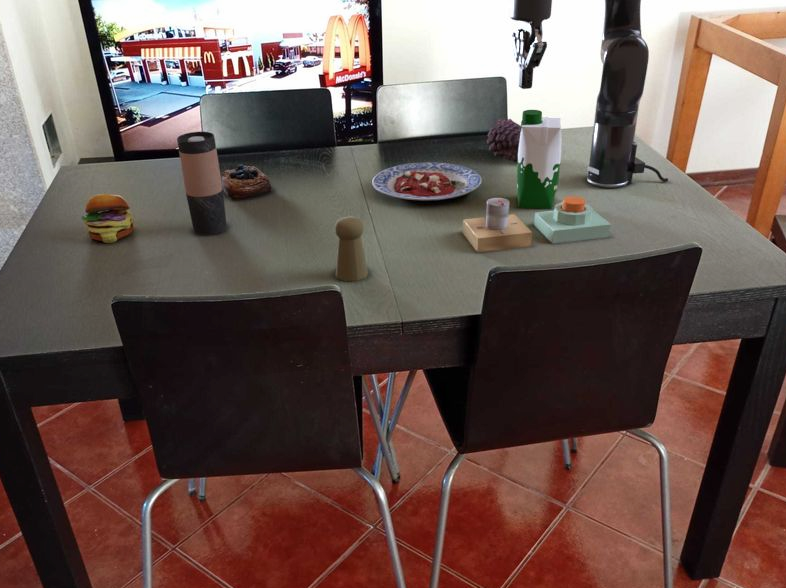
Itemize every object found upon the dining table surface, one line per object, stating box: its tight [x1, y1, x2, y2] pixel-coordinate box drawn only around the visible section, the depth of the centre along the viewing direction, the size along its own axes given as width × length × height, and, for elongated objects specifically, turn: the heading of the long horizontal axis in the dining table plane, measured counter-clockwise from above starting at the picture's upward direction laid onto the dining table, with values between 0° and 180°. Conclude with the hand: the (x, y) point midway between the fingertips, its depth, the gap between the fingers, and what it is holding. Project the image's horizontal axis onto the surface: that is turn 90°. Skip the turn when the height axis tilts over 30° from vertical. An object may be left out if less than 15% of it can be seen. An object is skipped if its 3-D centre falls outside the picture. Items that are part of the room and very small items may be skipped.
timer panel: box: [462, 213, 533, 253], centre depth 153 cm, size 11×10×3 cm
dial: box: [485, 197, 510, 230], centre depth 150 cm, size 4×4×5 cm
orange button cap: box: [562, 195, 586, 213], centre depth 153 cm, size 4×4×2 cm
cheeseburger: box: [81, 193, 135, 244], centre depth 162 cm, size 10×11×10 cm
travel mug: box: [176, 131, 227, 236], centre depth 159 cm, size 8×8×20 cm
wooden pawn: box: [334, 215, 369, 282], centre depth 140 cm, size 6×6×11 cm
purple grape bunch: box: [486, 117, 521, 162], centre depth 196 cm, size 18×10×10 cm
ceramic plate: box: [371, 162, 483, 202], centre depth 180 cm, size 26×26×3 cm
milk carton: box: [516, 109, 563, 210], centre depth 165 cm, size 9×9×20 cm
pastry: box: [221, 163, 273, 201], centre depth 182 cm, size 11×12×6 cm
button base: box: [533, 201, 612, 245], centre depth 154 cm, size 12×10×5 cm
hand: (525, 87), depth 149 cm, fingers closed
